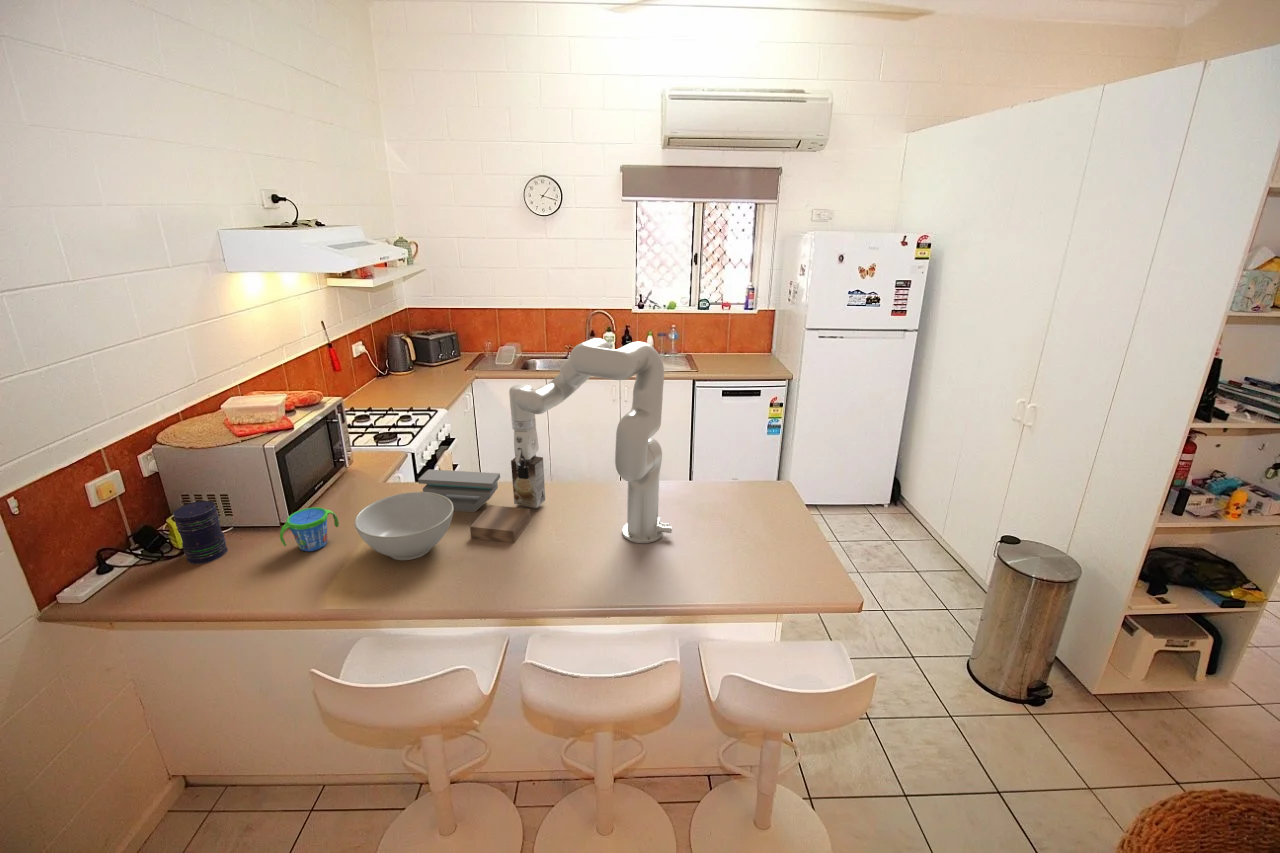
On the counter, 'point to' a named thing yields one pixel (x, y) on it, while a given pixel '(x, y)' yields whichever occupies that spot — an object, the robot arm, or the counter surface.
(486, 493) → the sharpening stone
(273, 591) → the counter surface
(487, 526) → the walnut riser
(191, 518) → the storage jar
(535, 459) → the coffee box
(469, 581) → the counter surface
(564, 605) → the counter surface
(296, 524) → the snack cup
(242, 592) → the counter surface
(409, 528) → the decorative bowl
